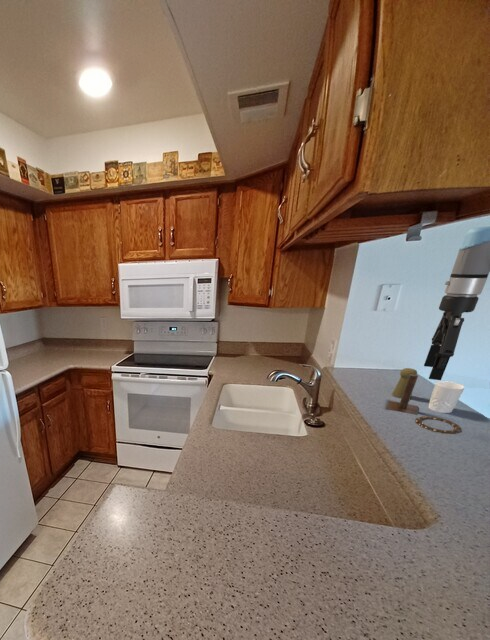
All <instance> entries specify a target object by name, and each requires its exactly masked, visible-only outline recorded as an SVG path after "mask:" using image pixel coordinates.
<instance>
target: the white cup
mask: <svg viewBox="0 0 490 640" xmlns="http://www.w3.org/2000/svg"><path fill="white" fill-rule="evenodd" d="M465 388H466V387H465V385H463V384H460V383H458V382H454V381H446V380H437V381H436V382H435V384H434V386H433V389H432V392H431V396H430V400H429V403H428V409H429V410H431V411H433V412H437V413H441V414H450V413H452V412H453V410H454V408H455V407H456V405H457V404H458V403H459V400H460V398H461V396H462V394H463V392H464V390H465Z"/></svg>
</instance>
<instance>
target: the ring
mask: <svg viewBox="0 0 490 640" xmlns="http://www.w3.org/2000/svg"><path fill="white" fill-rule="evenodd" d="M427 420H433V421H438V422H443V423H445V424H449V425H450V426H451V427H453V429H452V430H447V429H446V430H443V429H438V428H434V427H431V426H429V425H426V424H425V423H423V421H427ZM414 423H415V424H416V425H418V426H419V427H420V428H422V429H425V430H428V431H431V432H433V433H434V432H435V433H439V434H443V435H457V434H460V433H462V427H461V426H460V425H458V424H457V423H456V422H454V421H451V420H449V419H446V418H442V417H437V416H424V415H423V416H419V417H417V418H415V421H414Z"/></svg>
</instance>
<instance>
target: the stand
mask: <svg viewBox="0 0 490 640" xmlns="http://www.w3.org/2000/svg"><path fill="white" fill-rule="evenodd" d="M418 378H419V375H418V374H417V375H415V374H410V375H409V378H408V381H407V384H406V387H405V390H404V393H403V395H402V398H400V400H399V401H400V402H398V401H394V400H393V401H392V400H388V403H387V406H386V410H388V411H393V412H398V413H405V414H410V415H415V416H418V414H419V413H418V411H419V406H418V405H414V404H409V402H410V400H411V397H412V395H413V391H414V390H415V386H416V383H417V380H418Z"/></svg>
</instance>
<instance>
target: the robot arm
mask: <svg viewBox="0 0 490 640" xmlns="http://www.w3.org/2000/svg"><path fill="white" fill-rule="evenodd" d="M489 275H490V226H477V227H473V228H471V229H469V230H468V231H467V232H466V233H465V235H464V237H463V239H462V242H461V245H460V247H459V249H458V252H457V256H456V259H455V261H454V264H453V266H452V270H451V274H450V276H449V279H448V280H446V281H445V282H444V286H445V287H446V288H445V290H444V293H445V294H446V295H445V294H444V295H443V296H442V298H441V301H440V304H439V306H438V310H439V311H441V312H443V313H442V316H441V319H440V321H439V323H438V325H437V328H435V329H436V330H435V331H434V334H433V335H432V338H431V344H430V348H429V349H428V353H427V355H426V358H425V361H424V364H423V367H427V368H431V371H430V374H429V376H428V380H435V381H442V378H443V376H444V374H445V371H446V368H447V366H448V363H449V361H450V359H451V358H452V357H454V355H455V351H456V347H457V344H458V341H459V337H460V333H461V330H462V327H463V323H464V322H465V317H462V315H463V314H464V313H472V312H474V311H475V309H476V306H477V305H478V301H479V300H480V298H479V297H478V296H480V295H482V293H483V290H484V287H485V285H486V283H487V280H488V277H489Z"/></svg>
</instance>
